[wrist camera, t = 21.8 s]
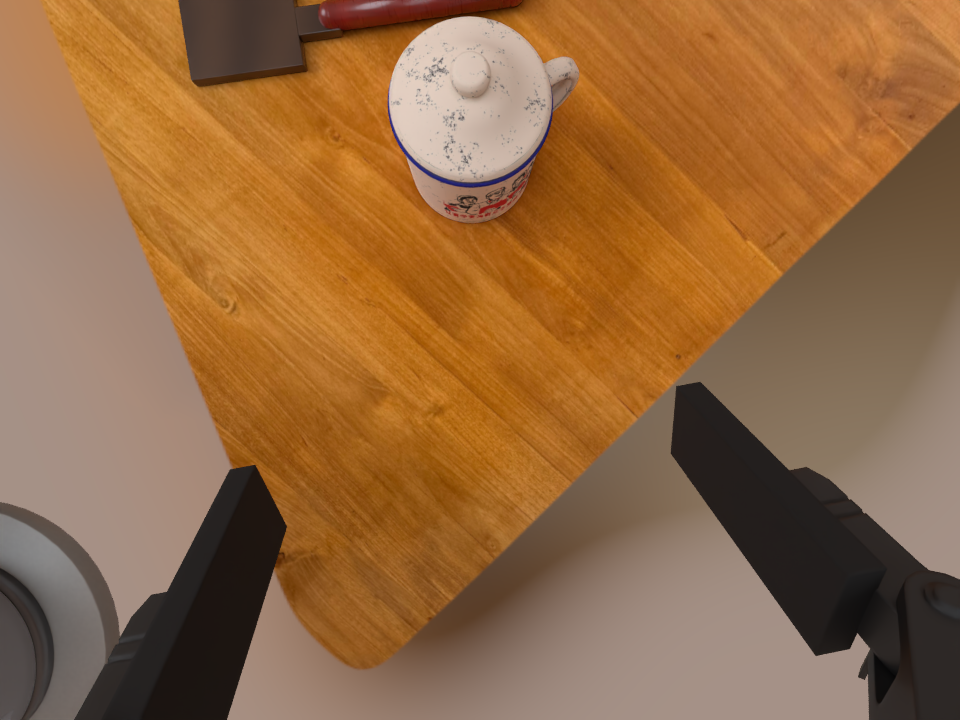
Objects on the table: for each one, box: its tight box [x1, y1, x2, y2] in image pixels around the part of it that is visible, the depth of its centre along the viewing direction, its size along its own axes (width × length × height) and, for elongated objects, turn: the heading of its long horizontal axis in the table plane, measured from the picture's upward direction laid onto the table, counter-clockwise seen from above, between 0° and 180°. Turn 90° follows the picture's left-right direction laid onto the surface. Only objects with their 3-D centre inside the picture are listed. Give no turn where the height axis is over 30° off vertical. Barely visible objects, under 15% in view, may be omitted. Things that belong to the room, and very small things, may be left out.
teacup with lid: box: [388, 17, 579, 223], centre depth 28 cm, size 12×9×12 cm
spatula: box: [179, 0, 523, 86], centre depth 33 cm, size 24×6×2 cm, turn 98°
